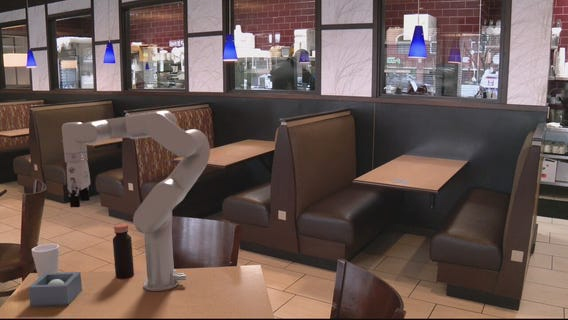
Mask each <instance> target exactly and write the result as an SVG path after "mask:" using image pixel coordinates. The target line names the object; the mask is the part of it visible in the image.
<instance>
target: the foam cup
mask: <svg viewBox="0 0 568 320" xmlns="http://www.w3.org/2000/svg"><path fill="white" fill-rule="evenodd" d="M60 252H61V250H60V245H59V243H45V244H40V245H36V246H34V247H33V248H31V256H32V258H33V261H34V266H35V269H36V272H37V277H38V278H40V277H41V276H42V275H43V274H44V273H60V271H59V270H60V269H59V267H60Z"/></svg>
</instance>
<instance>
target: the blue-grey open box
mask: <svg viewBox="0 0 568 320" xmlns="http://www.w3.org/2000/svg"><path fill="white" fill-rule="evenodd" d="M54 279H60V280H62V281H63V282H64V284H55V285H48V283H49V282H50V281H52V280H54ZM82 284H83V283H82V275H81V271H72V272H71V271H70V272H69V271H68V272H66V271H65V272H64V271H63V272H58V273H44V274H43V275H42V276H41V277H40V278H39V277H38V278H37V279H36V280H35V281H34V282H33V283H31V284H30V285H29V286H28V287H27V289H28V296H29V304H30V305H29V307H30V308H42V307H43V308H46V307H47V308H48V307H69V306H70V305H69V304H72V303H73V301H75V299H76V298H77V297H78V296H79V295H80V294H81V292H82V291H83V285H82ZM79 293H80V294H79ZM78 294H79V295H78ZM77 295H78V296H77Z"/></svg>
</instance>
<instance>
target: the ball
mask: <svg viewBox="0 0 568 320" xmlns="http://www.w3.org/2000/svg"><path fill="white" fill-rule="evenodd" d="M55 284H64V282H63V281H62V280H60V279H54V280H52V281H50V282H49V283H48V285H55Z"/></svg>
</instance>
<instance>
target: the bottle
mask: <svg viewBox="0 0 568 320" xmlns="http://www.w3.org/2000/svg"><path fill="white" fill-rule="evenodd" d="M113 230H114V234H115V236H114V237H113V238H112V248H113V259H114V270H115V271H114V272H115V278H116V279H119V280H124V279H125V280H127V279H130V278H132V277H133V276H134V275H135V268H134V256H133V242H132V236H131V235H130V234H129V233H128V232H129V225H128V224H127V223H118V224H115V225H114V226H113Z"/></svg>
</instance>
